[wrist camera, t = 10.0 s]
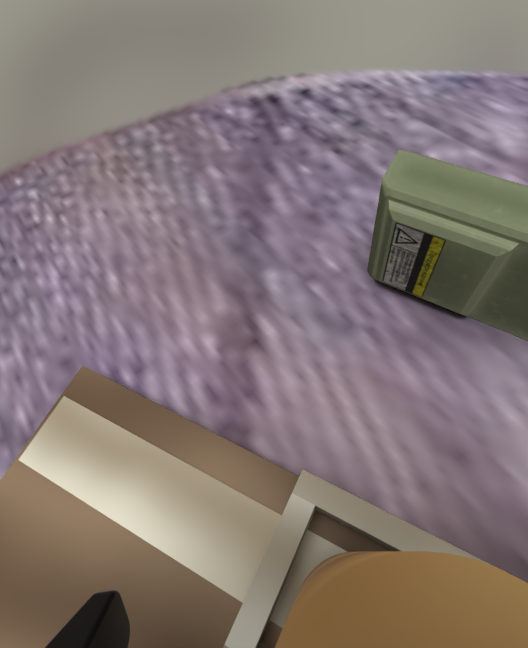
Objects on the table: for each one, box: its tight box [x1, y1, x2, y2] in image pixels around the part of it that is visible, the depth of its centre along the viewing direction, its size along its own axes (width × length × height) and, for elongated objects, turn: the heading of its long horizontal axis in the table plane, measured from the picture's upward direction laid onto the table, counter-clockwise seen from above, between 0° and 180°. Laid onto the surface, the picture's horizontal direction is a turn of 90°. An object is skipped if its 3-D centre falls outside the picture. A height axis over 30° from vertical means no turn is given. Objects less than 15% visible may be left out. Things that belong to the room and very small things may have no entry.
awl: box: [275, 551, 528, 648], centre depth 9 cm, size 3×3×12 cm
